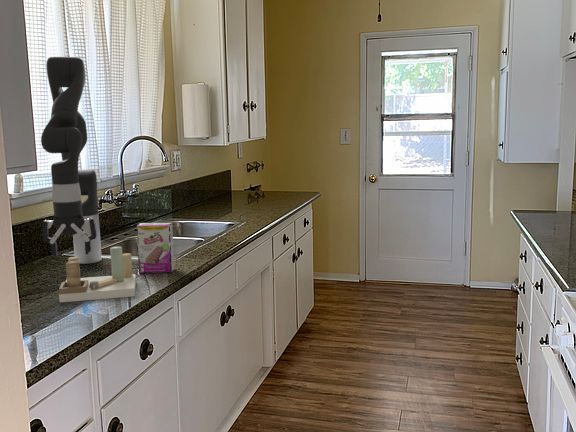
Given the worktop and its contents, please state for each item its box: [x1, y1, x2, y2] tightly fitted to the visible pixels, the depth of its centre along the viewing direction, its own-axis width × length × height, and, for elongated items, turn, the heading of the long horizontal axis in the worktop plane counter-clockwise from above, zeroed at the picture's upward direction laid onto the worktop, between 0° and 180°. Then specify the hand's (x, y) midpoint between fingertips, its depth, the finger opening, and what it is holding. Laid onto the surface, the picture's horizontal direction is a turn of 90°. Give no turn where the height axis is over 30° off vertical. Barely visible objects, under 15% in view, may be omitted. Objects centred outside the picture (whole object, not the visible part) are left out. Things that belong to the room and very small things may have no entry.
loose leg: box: [65, 261, 81, 287], centre depth 167 cm, size 4×4×8 cm
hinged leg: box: [89, 246, 124, 289], centre depth 172 cm, size 12×3×10 cm, turn 148°
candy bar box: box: [136, 222, 175, 274], centre depth 194 cm, size 11×5×16 cm, turn 92°
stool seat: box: [58, 253, 137, 303], centre depth 173 cm, size 16×21×9 cm
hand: (71, 254), depth 166 cm, fingers open, 8 cm apart
